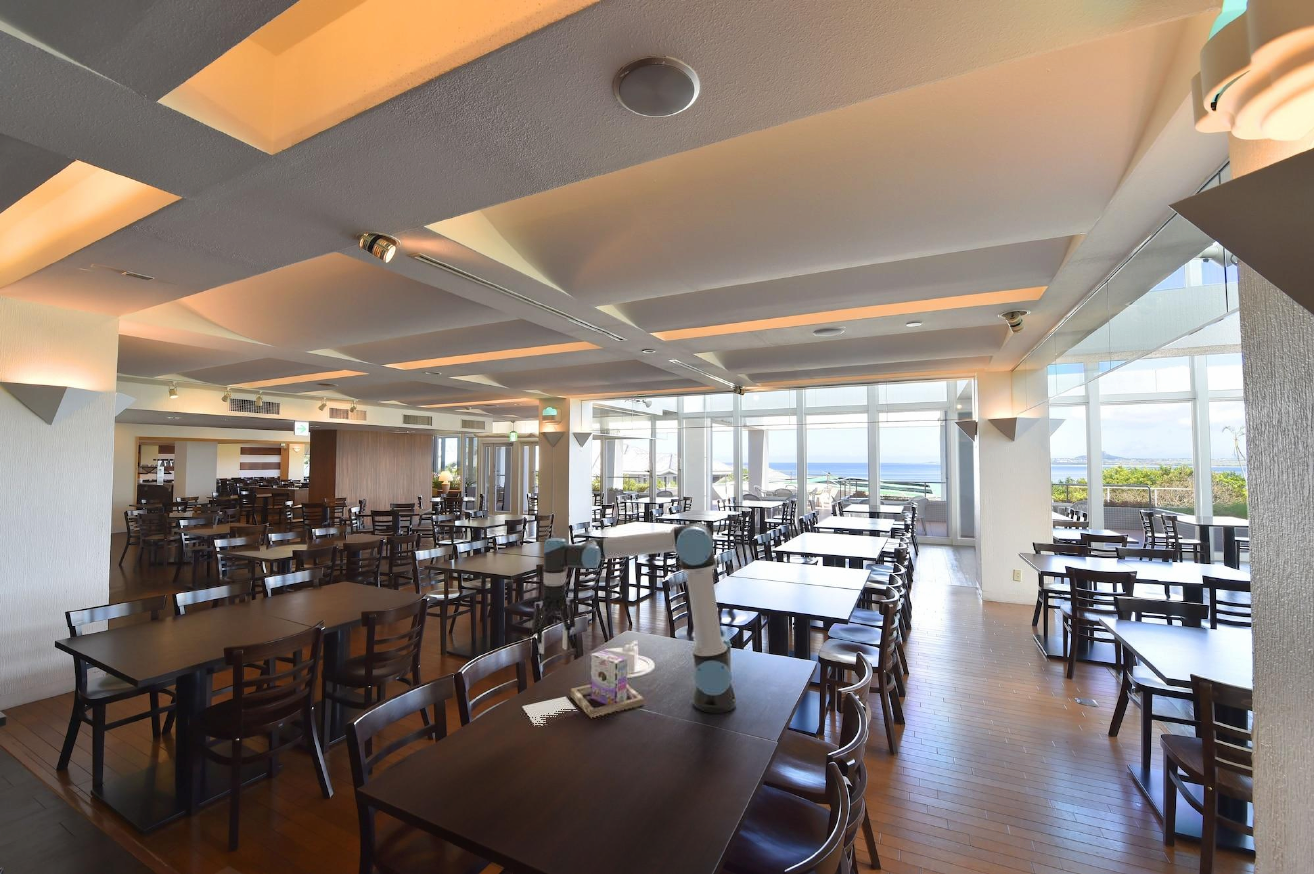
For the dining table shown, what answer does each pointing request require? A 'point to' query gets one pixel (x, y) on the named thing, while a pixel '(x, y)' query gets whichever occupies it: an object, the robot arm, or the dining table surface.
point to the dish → (633, 660)
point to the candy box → (608, 678)
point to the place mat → (547, 709)
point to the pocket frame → (593, 712)
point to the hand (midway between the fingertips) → (553, 650)
